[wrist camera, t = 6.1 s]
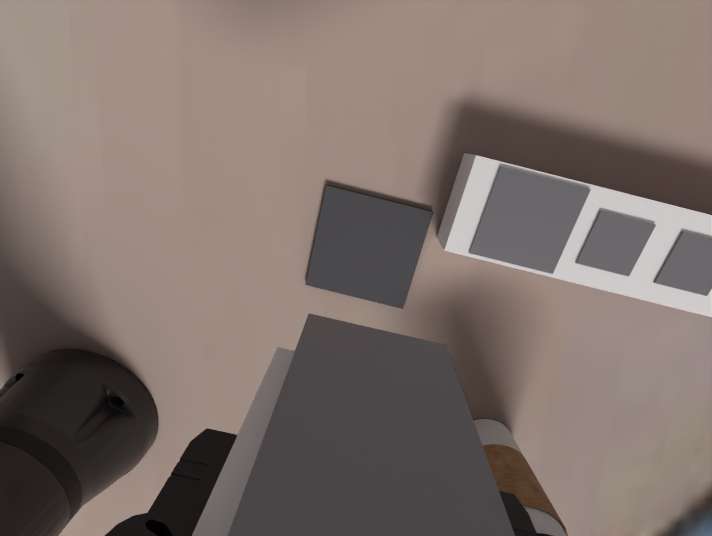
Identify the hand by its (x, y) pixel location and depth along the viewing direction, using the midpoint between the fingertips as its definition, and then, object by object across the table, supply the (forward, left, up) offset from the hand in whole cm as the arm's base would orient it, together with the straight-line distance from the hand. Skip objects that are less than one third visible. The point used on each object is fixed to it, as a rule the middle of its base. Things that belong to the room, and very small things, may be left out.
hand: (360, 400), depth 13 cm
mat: (0, 0, -20) cm, 20 cm away
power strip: (+20, +6, -20) cm, 29 cm away
